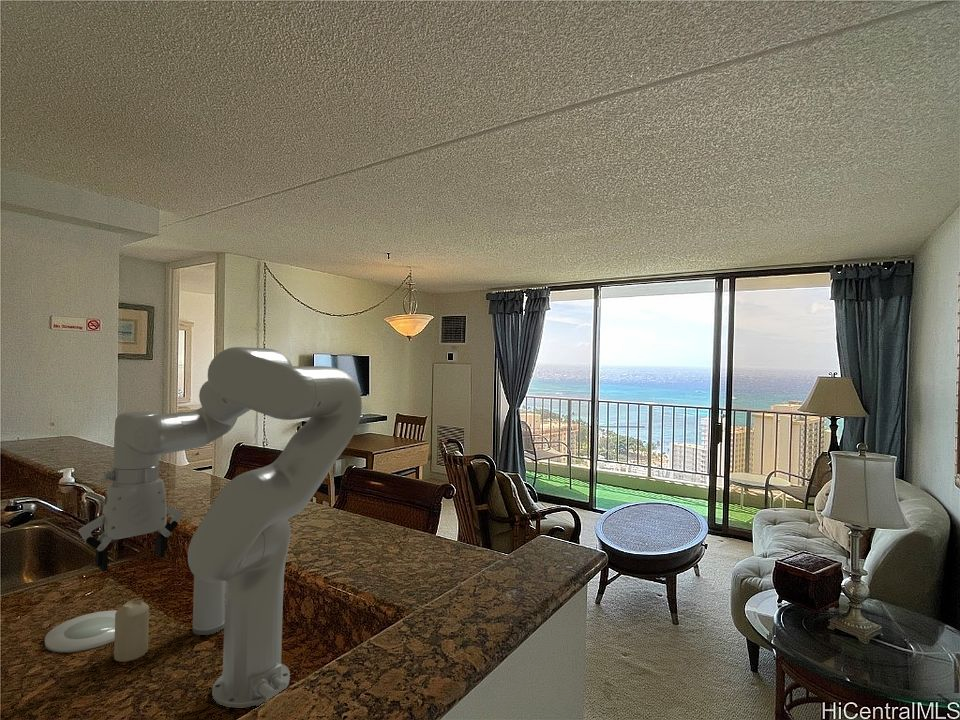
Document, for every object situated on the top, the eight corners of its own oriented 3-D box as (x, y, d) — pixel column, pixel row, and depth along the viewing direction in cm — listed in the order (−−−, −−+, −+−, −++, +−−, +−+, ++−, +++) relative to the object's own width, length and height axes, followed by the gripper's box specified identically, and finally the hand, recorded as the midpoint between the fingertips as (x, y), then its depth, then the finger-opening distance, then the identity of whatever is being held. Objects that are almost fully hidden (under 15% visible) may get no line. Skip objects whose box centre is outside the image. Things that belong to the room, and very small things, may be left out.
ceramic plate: (144, 631, 109) (144, 626, 109) (53, 661, 98) (54, 655, 98) (122, 608, 119) (122, 603, 119) (37, 633, 107) (37, 628, 107)
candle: (120, 665, 97) (121, 612, 97) (109, 655, 100) (111, 603, 100) (152, 653, 101) (154, 602, 101) (141, 643, 105) (142, 593, 105)
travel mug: (184, 632, 109) (187, 537, 109) (213, 618, 115) (215, 529, 115) (203, 640, 106) (206, 543, 106) (231, 626, 112) (234, 534, 112)
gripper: (87, 485, 92) (82, 581, 92) (191, 472, 105) (187, 556, 105) (76, 478, 97) (72, 569, 97) (177, 466, 110) (173, 546, 110)
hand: (132, 562), depth 101 cm, fingers open, 9 cm apart
